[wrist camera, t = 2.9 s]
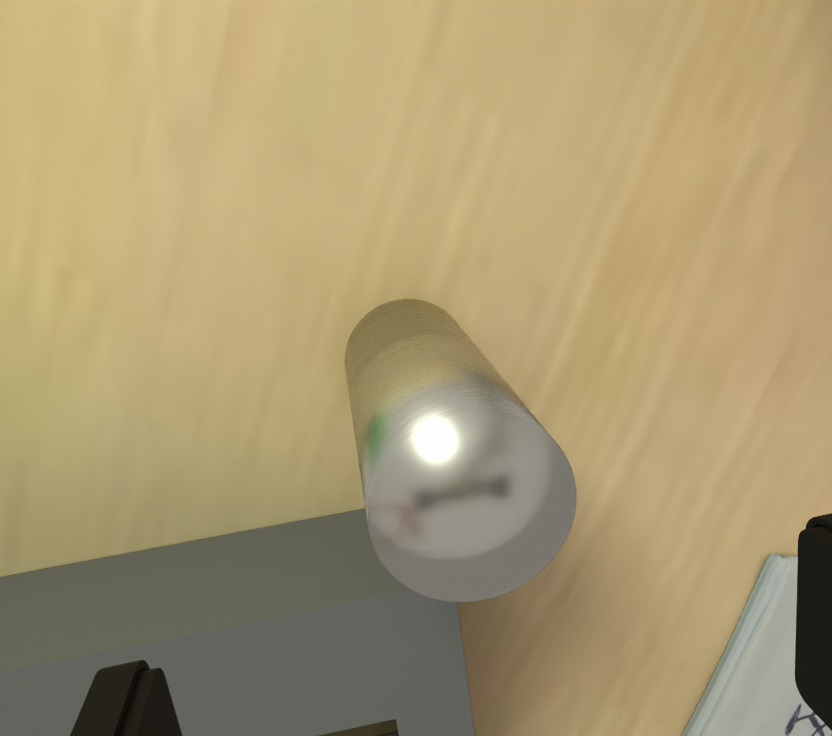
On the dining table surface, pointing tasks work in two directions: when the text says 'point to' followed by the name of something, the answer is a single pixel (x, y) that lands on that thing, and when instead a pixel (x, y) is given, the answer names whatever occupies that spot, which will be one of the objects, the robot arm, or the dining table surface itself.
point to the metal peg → (451, 459)
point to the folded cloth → (760, 667)
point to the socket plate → (239, 636)
